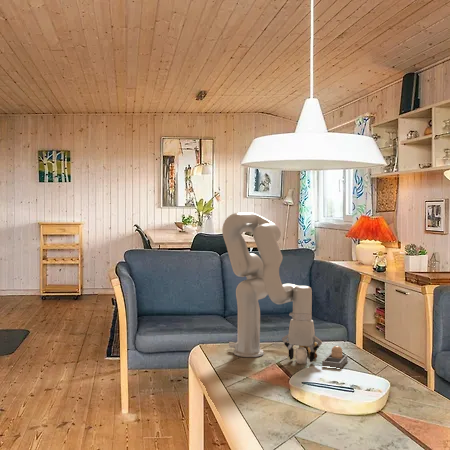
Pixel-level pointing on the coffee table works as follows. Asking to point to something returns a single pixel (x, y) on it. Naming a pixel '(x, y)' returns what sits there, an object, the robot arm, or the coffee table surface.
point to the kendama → (309, 349)
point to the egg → (301, 355)
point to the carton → (335, 358)
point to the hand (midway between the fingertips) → (301, 359)
